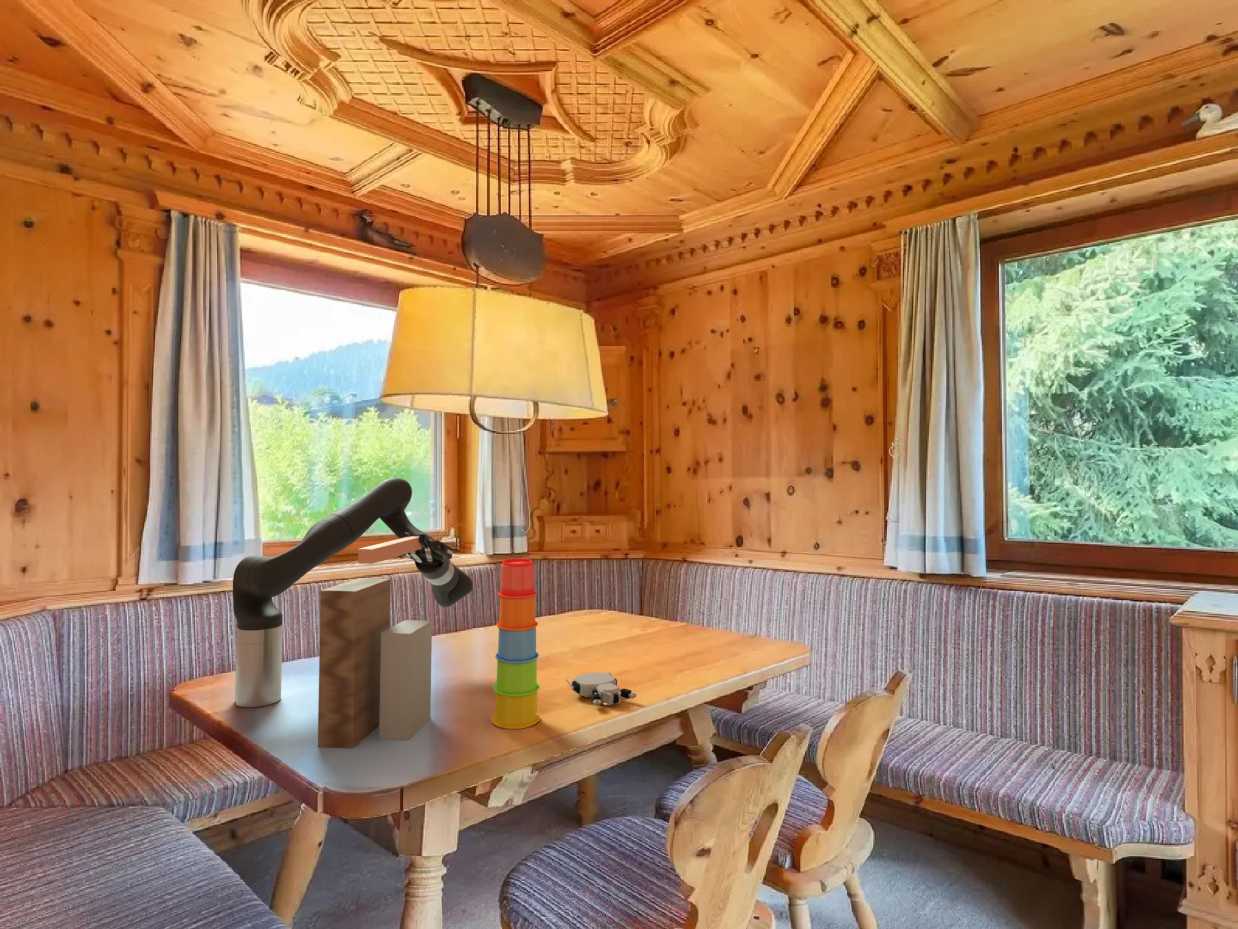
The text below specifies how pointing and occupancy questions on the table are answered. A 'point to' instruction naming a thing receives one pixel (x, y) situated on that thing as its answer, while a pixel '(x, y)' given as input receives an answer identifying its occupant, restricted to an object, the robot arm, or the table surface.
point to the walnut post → (351, 660)
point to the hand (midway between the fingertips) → (413, 536)
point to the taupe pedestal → (405, 679)
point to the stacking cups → (516, 648)
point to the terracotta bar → (388, 550)
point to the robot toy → (600, 688)
